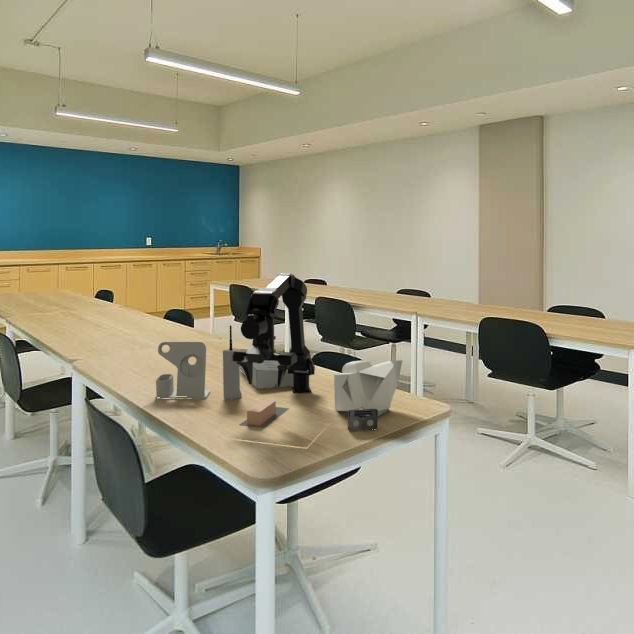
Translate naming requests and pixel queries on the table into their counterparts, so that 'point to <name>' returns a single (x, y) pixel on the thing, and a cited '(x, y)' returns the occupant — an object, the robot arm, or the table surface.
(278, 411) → the charcoal mat
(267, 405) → the terracotta block
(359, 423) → the mini dv tape
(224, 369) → the vintage mobile phone
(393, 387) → the folded paper
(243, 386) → the table surface
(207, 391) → the phone holder
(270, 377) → the warehouse
